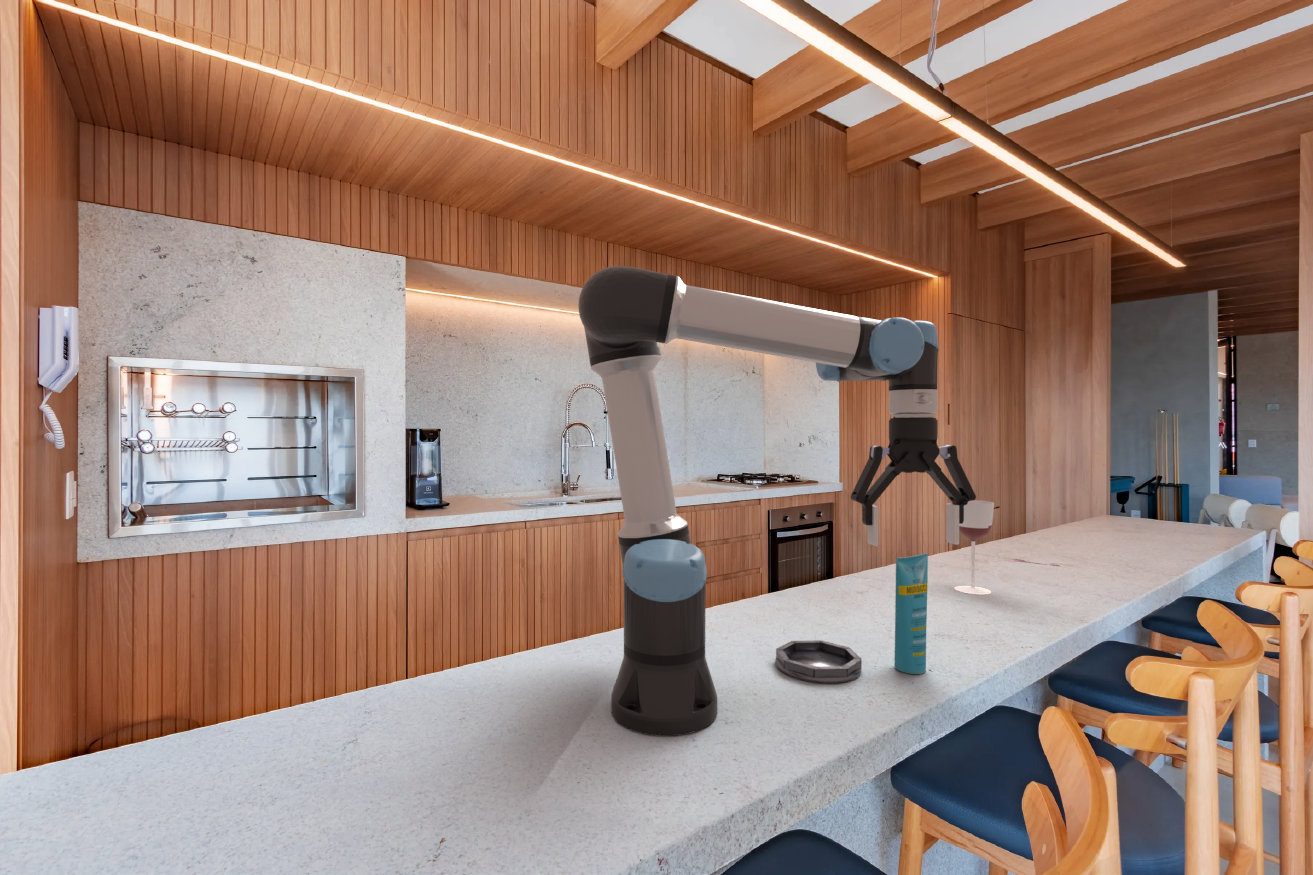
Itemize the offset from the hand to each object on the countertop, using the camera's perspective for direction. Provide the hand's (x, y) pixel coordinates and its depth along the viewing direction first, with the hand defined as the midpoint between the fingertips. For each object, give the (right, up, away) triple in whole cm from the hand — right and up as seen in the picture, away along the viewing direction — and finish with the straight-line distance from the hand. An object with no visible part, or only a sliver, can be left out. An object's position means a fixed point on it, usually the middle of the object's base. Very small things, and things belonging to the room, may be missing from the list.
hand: (912, 544), depth 104 cm
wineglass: (+36, -20, +51) cm, 66 cm away
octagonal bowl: (-15, -21, +2) cm, 26 cm away
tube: (0, -21, +1) cm, 21 cm away
